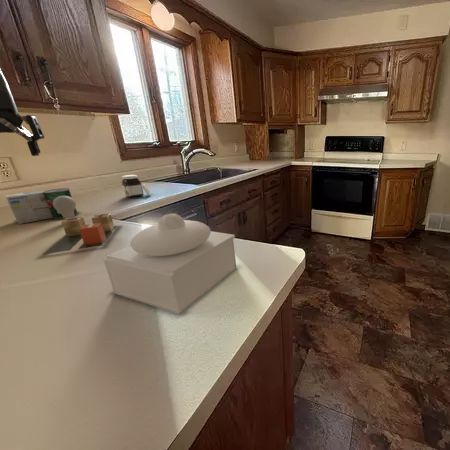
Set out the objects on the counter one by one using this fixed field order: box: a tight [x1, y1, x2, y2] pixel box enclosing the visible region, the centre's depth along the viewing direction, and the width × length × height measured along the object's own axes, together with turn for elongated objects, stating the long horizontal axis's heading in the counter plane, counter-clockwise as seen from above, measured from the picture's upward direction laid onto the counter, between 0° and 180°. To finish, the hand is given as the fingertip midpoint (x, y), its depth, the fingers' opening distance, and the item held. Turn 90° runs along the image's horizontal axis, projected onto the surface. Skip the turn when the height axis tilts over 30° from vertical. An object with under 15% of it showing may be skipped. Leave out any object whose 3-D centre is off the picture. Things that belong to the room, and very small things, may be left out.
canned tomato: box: [42, 187, 78, 220], centre depth 101 cm, size 8×8×11 cm
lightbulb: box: [53, 196, 77, 220], centre depth 91 cm, size 6×6×11 cm
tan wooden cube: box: [61, 216, 87, 237], centre depth 80 cm, size 4×4×5 cm
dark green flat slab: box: [43, 225, 118, 255], centre depth 77 cm, size 14×20×1 cm
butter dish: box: [103, 213, 237, 315], centre depth 52 cm, size 18×18×16 cm
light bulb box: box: [5, 190, 54, 225], centre depth 97 cm, size 11×7×11 cm, turn 143°
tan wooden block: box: [91, 213, 115, 232], centre depth 82 cm, size 4×4×5 cm
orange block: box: [79, 223, 106, 245], centre depth 73 cm, size 4×4×5 cm
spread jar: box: [121, 174, 152, 199], centre depth 134 cm, size 12×11×12 cm
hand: (15, 156), depth 67 cm, fingers open, 8 cm apart
